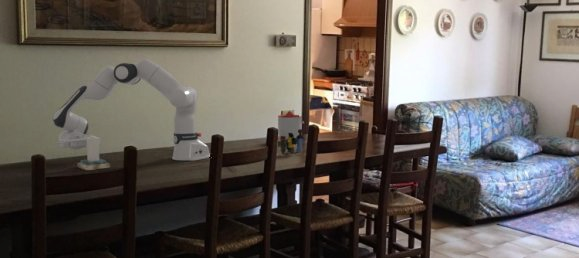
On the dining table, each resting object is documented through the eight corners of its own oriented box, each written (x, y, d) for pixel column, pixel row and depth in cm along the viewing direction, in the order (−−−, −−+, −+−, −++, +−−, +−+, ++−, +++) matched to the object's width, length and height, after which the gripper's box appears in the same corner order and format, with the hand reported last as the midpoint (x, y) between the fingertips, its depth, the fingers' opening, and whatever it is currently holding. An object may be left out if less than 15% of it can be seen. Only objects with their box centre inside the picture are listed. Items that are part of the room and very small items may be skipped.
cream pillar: (96, 162, 307) (94, 135, 306) (99, 163, 304) (98, 136, 302) (87, 163, 304) (86, 136, 303) (91, 164, 301) (89, 136, 299)
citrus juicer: (307, 142, 387) (307, 111, 384) (281, 144, 382) (281, 112, 380) (300, 139, 402) (300, 109, 399) (275, 140, 397) (274, 110, 395)
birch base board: (100, 164, 313) (100, 157, 312) (110, 167, 304) (109, 160, 303) (77, 167, 305) (77, 160, 305) (86, 170, 296) (86, 163, 296)
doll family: (292, 150, 357) (291, 127, 355) (306, 150, 354) (306, 128, 352) (277, 156, 335) (277, 132, 334) (293, 157, 332) (292, 132, 331)
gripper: (55, 136, 313) (64, 139, 302) (93, 133, 326) (104, 136, 315) (55, 148, 314) (65, 152, 303) (94, 145, 327) (104, 148, 316)
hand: (85, 144), depth 309 cm, fingers open, 8 cm apart
